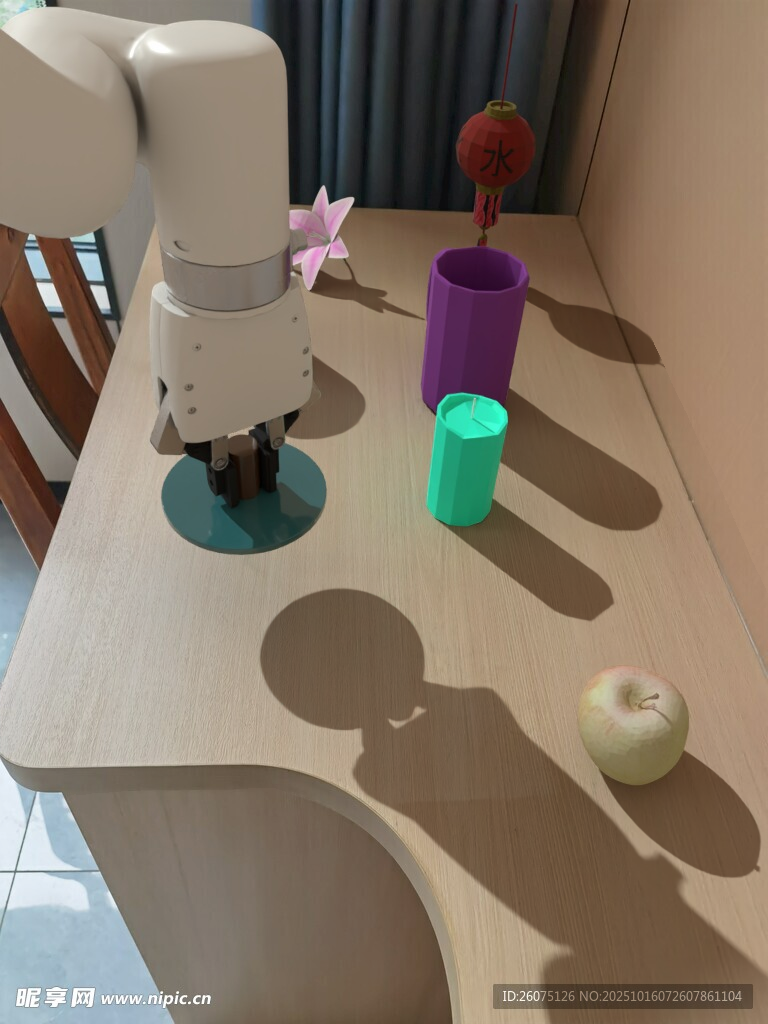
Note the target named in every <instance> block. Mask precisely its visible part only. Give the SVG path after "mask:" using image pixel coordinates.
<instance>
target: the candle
mask: <svg viewBox="0 0 768 1024" xmlns="http://www.w3.org/2000/svg"><path fill="white" fill-rule="evenodd" d="M435 417H436V418H435V424H434V432H433V440H432V441H433V442H432V450H431V459H430V467H429V475H428V484H427V491H426V493H427V494H426V508H427V510H429V512H430V513H431V515H432V517H434V519H435V520H436V519H437V520H438V521H440V522H442V523H445V524H447V525H449V526H457V527H470V526H473V525H475V524H478V523H482V522H483V521H484V520H485V518H486V517H487V516H488V515H489V513H490V512H491V508H492V504H493V498H494V493H495V489H496V484H497V480H498V479H497V478H498V475H499V470H500V469H499V468H500V465H501V458H502V453H503V448H504V445H505V439H506V434H507V429H508V424H509V419H508V411H507V410H506V409H505V407H503V406H501V405H500V404H499V403H498V402H497V401H495V400H492V399H489V398H486V397H483V396H480V395H474V394H467V393H457V394H449V395H447V396H446V397H445V398H444V399H443V400H442V401H441V402H440V403H439V404H438V407H437V413H436V415H435Z"/></svg>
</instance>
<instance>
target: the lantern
mask: <svg viewBox="0 0 768 1024" xmlns="http://www.w3.org/2000/svg"><path fill="white" fill-rule="evenodd" d="M517 10H518V3H517V2H515V3H514V9H513V17H512V21H511V30H510V37H509V43H508V51H507V57H506V66H505V73H504V79H503V85H502V93H501V99H500V100H499V99H498V100H497V99H495V100H490V101H488V102H487V103H486V107H485V108H484V110H483V111H480V112H478V113H476V114H474V115H472V116H471V117H470V118H469V119H468V120H467V121H466V123H464V124H463V126H462V127H461V129H460V131H459V134H458V137H457V140H456V142H455V151H456V152H455V153H456V160H457V163H458V165H459V167H460V169H461V170H462V171H463V173H464V175H465V176H466V177H467V178H468V179H470V180H471V181H473V182H474V185H475V189H476V191H475V198H474V206H473V215H472V222H473V223H474V224H475V225H477V226H478V227H479V228H480V230H482V232H480V233H479V234H478V236H477V241H476V247H477V246H481V247H487V244H488V239H489V238H488V234H486V233H485V232H486V230H489V229H490V228H492V227H495V226H497V224H498V222H499V217H500V209H501V204H502V203H501V202H502V197H503V192H504V189H505V188H506V187H507V186H508V185H509V186H510V185H512V184H515V183H516V182H518V181H519V180H520V179H521V178H522V177H523V176H524V175H525V174H526V173H528V172H529V170H530V167H531V165H532V162H533V160H534V157H535V155H536V151H537V150H536V136H535V134H534V133H533V131H532V129H531V127H530V125H529V123H528V122H527V120H526V119H525V118H523V117H522V116H521V115H519V113H518V111H517V105H516V104H515V103H513V102H511V101H507V100H505V94H506V88H507V87H506V86H507V80H508V72H509V67H510V58H511V51H512V45H513V39H514V33H515V26H516V25H515V24H516V19H517Z"/></svg>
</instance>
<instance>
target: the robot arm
mask: <svg viewBox="0 0 768 1024" xmlns="http://www.w3.org/2000/svg"><path fill="white" fill-rule="evenodd" d="M288 109H289V108H288V75H287V65H286V61H285V59H284V56H283V52H282V51H281V48H280V47H279V46H278V44H277V43H276V41H275V40H274V39H273V38H272V37H270V36H269V35H268V34H266V33H265V32H263V31H261V30H259V29H256V28H254V27H251V26H248V25H245V24H242V23H237V22H232V21H224V20H213V19H212V20H211V19H193V20H183V21H182V20H181V21H177V22H171V23H168V24H160V23H159V24H158V23H151V22H145V21H139V20H133V19H127V18H122V17H116V16H111V15H107V14H103V13H98V12H93V11H89V10H88V11H87V10H83V9H78V8H69V7H62V6H41V7H35V8H31V9H27V10H24V11H21V12H20V13H18V14H15V15H14V16H13V17H10V19H8V20H7V21H6V22H5V23H3V25H2V26H1V27H0V225H3V226H6V227H8V228H11V229H14V230H15V231H16V230H17V231H18V232H21V233H24V234H28V235H32V236H37V237H41V238H46V239H47V238H48V239H60V240H61V239H72V238H79V237H83V236H85V235H89V234H91V233H95V232H96V231H98V230H99V229H101V228H102V227H104V226H105V225H107V224H108V223H110V222H111V220H113V219H114V218H115V217H116V216H117V214H119V213H120V211H121V210H122V208H123V206H124V205H125V203H126V202H127V200H128V198H129V196H130V193H131V192H132V191H131V190H132V187H133V184H134V180H135V174H136V165H137V164H141V165H142V166H143V167H144V168H145V169H146V170H147V172H148V176H149V183H150V190H151V195H152V196H151V197H152V203H153V209H154V218H155V224H156V232H157V238H158V244H159V251H160V257H161V258H160V259H161V265H162V271H163V273H162V274H163V279H164V280H163V281H160V282H158V283H155V284H154V285H153V287H152V289H151V296H150V304H149V305H150V307H149V320H148V321H149V328H148V329H149V334H148V336H149V337H148V338H149V361H150V363H149V364H150V375H151V384H152V393H153V399H154V402H155V405H156V408H157V410H158V413H157V416H156V419H155V423H154V426H153V429H152V432H151V435H150V438H149V442H150V444H151V446H152V447H153V448H154V450H155V451H156V453H157V454H159V455H162V456H182V455H187V454H188V456H190V457H192V458H194V459H197V460H199V461H202V462H204V463H205V465H206V473H207V481H208V485H209V487H210V489H211V491H212V492H213V494H214V495H215V496H219V495H221V496H222V498H223V499H224V500H225V502H226V503H227V504H228V506H229V507H230V508H234V507H236V506H238V504H239V503H240V501H239V489H238V477H237V468H236V466H235V465H234V463H233V462H232V461H231V460H230V458H229V455H228V438H229V435H230V434H233V433H237V432H239V431H242V430H245V429H247V428H251V427H253V428H251V429H248V431H247V433H248V435H249V436H252V437H254V438H255V439H256V440H257V442H258V447H259V464H260V482H261V486H262V487H263V488H264V490H265V491H266V492H269V493H271V492H274V491H276V490H277V482H276V473H278V472H279V449H280V448H281V447H282V446H283V445H284V444H285V443H286V434H287V433H288V431H289V430H290V429H291V428H292V427H293V425H294V424H295V423H296V421H297V420H298V418H299V417H300V414H301V413H303V412H305V411H306V410H307V409H309V408H310V407H311V406H312V405H314V404H315V403H316V402H317V401H319V400H320V398H321V395H322V392H321V390H320V389H319V387H318V385H317V384H316V382H315V380H314V378H313V377H314V375H313V374H314V371H313V370H314V369H313V353H312V352H313V351H312V340H311V333H310V326H309V319H308V313H307V309H306V303H305V299H304V295H303V292H302V287H301V284H300V280H299V278H298V276H297V274H296V273H295V272H294V265H293V255H295V254H297V252H298V251H302V250H306V248H307V245H308V241H307V236H306V234H305V232H304V230H303V229H301V228H298V229H294V230H292V229H290V223H289V219H290V212H289V210H290V165H289V164H290V163H289V162H290V161H289V160H290V159H289V158H290V157H289V110H288Z"/></svg>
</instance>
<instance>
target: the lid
mask: <svg viewBox="0 0 768 1024" xmlns="http://www.w3.org/2000/svg"><path fill="white" fill-rule="evenodd" d="M228 455H229V458H230V460H231V461H232V462H233V463H234V465H235V466H236V468H237V477H238V489H239V501H240V503H239V504H238V506H236V507H234V508H230V507H229V506H228V504H227V503H226V502H225V500H224V499H223V498H222V496H221V495H219V496H215V495H214V494H213V492H212V491H211V489H210V487H209V485H208V481H207V473H206V465H205V463H204V462H202V461H199V460H197V459H194V458H192V457H190V456H188V454H185V455H184V456H183V457H181V458H180V459H179V460H178V461H177V462H176V463H175V464H174V465H173V466H172V468H171V469H169V472H168V473H167V474H166V476H165V478H164V481H163V482H162V483H163V484H162V487H161V492H160V493H161V494H160V500H161V507H162V512H163V515H164V518H165V520H166V521H167V523H168V525H169V526H170V527H171V528H172V530H173V531H174V532H175V533H176V534H177V535H178V536H179V537H180V538H182V539H184V540H185V541H187V542H188V543H190V544H192V545H194V546H196V547H198V548H200V549H203V550H206V551H209V552H212V553H218V554H222V555H223V554H224V555H230V556H231V555H232V556H247V555H257V554H263V553H267V552H272V551H275V550H278V549H281V548H284V547H286V546H288V545H290V544H292V543H294V542H296V541H297V540H299V539H301V538H302V537H303V536H305V535H306V534H307V533H308V532H309V531H311V530H312V528H314V526H315V525H316V524H317V523H318V521H319V520H320V518H321V517H322V516H323V513H324V511H325V507H326V503H327V494H328V493H327V491H328V489H327V481H326V479H325V476H324V473H323V471H322V470H321V468H320V466H319V465H318V464H317V462H316V461H314V459H313V458H311V456H309V455H308V454H306V453H305V452H304V451H303V450H301V449H299V448H297V447H295V446H293V445H291V444H289V443H286V442H285V444H284V445H283V446H282V447H281V448H280V449H279V472H278V473H276V482H277V490H276V491H274V492H271V493H269V492H266V491H265V490H264V488H263V487H262V486H261V482H260V464H259V447H258V442H257V440H256V439H255V438H254V437H252V436H249V434H243V433H241V434H240V433H239V434H235V435H233V436H230V437H228Z"/></svg>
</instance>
